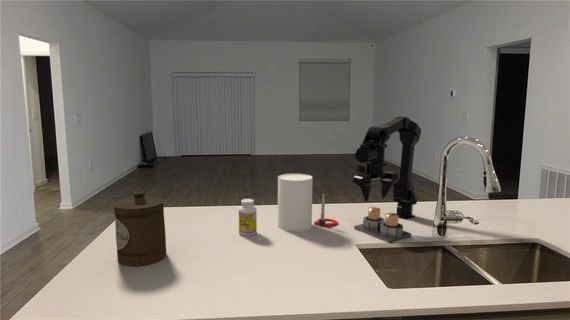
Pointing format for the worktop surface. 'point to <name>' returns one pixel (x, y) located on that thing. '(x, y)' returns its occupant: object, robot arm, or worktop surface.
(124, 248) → the wooden container
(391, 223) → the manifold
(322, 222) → the tow hook
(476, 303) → the worktop surface
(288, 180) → the canister
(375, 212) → the brass peg
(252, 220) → the supplement bottle
